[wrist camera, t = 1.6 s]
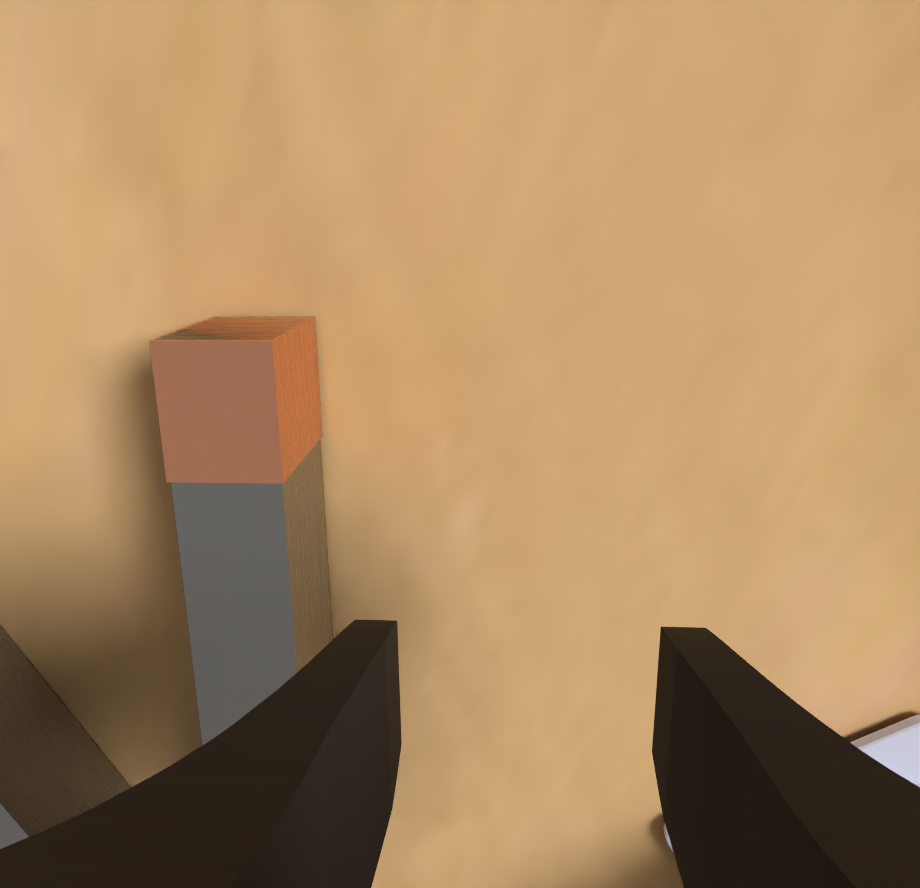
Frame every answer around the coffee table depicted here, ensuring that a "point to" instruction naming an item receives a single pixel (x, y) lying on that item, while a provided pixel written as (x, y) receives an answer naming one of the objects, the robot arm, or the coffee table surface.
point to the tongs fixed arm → (43, 755)
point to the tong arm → (246, 503)
